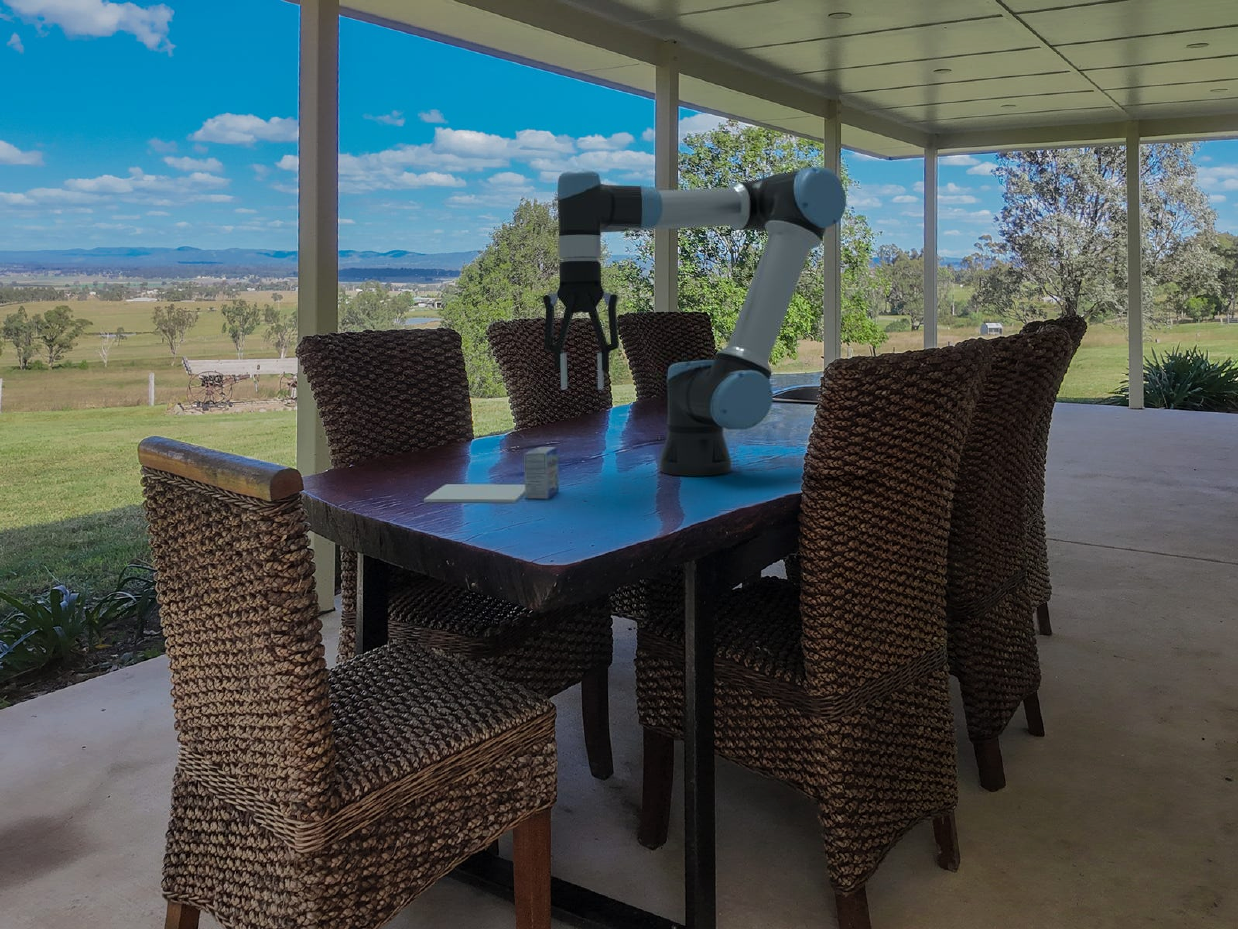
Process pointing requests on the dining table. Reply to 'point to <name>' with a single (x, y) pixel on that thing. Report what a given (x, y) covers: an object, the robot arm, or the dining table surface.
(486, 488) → the mat
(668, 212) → the robot arm
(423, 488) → the dining table surface
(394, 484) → the dining table surface
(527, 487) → the medicine box
